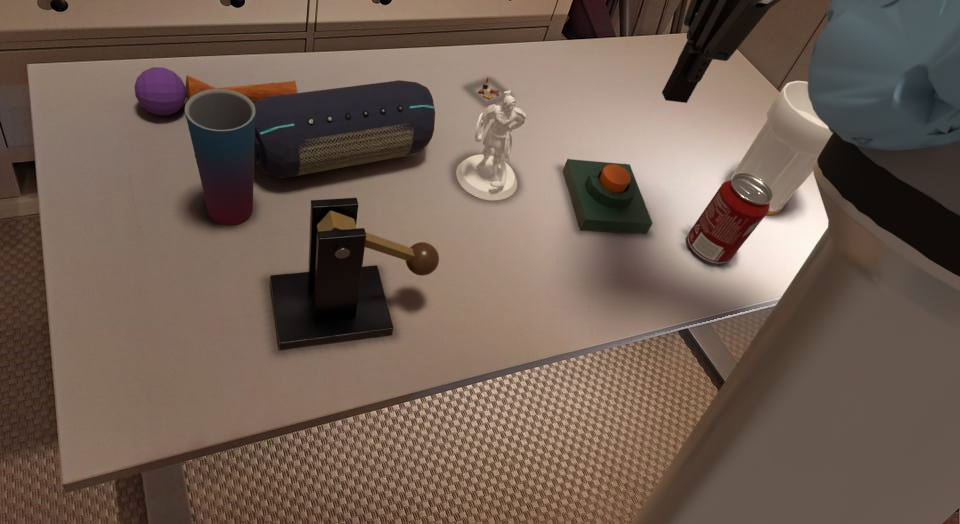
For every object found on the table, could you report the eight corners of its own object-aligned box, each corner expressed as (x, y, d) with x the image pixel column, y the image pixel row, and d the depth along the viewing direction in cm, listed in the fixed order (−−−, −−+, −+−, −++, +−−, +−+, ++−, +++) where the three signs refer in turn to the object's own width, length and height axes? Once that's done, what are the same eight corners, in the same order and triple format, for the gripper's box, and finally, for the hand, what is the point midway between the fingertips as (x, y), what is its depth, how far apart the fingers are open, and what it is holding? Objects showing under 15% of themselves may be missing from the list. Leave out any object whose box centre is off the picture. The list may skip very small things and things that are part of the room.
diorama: (474, 90, 105) (477, 79, 103) (490, 84, 107) (493, 73, 106) (486, 100, 104) (489, 89, 102) (502, 94, 106) (506, 83, 104)
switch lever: (420, 260, 74) (440, 240, 72) (428, 285, 72) (449, 266, 70) (311, 223, 64) (332, 200, 62) (317, 251, 62) (339, 228, 60)
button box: (646, 234, 92) (658, 214, 89) (580, 230, 90) (590, 210, 87) (624, 174, 100) (634, 155, 97) (562, 169, 97) (571, 149, 94)
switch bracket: (376, 271, 78) (390, 180, 66) (392, 334, 72) (410, 248, 61) (270, 281, 73) (266, 187, 62) (279, 349, 68) (277, 260, 57)
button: (629, 194, 91) (634, 185, 90) (602, 192, 90) (607, 183, 89) (622, 174, 94) (626, 165, 92) (596, 172, 93) (600, 163, 91)
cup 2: (797, 226, 101) (872, 139, 88) (729, 212, 99) (795, 121, 86) (778, 177, 108) (845, 89, 95) (715, 163, 107) (774, 73, 94)
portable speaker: (259, 200, 80) (256, 137, 73) (236, 147, 85) (231, 83, 78) (440, 165, 92) (453, 107, 84) (410, 120, 97) (420, 61, 89)
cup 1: (268, 223, 79) (264, 124, 67) (209, 237, 75) (195, 136, 64) (249, 184, 82) (243, 84, 71) (192, 196, 79) (176, 93, 67)
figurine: (445, 182, 90) (468, 92, 79) (470, 148, 96) (494, 59, 84) (504, 209, 89) (535, 122, 78) (525, 173, 95) (557, 87, 84)
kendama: (301, 95, 89) (135, 92, 80) (296, 123, 93) (138, 124, 84) (293, 62, 91) (131, 56, 82) (288, 91, 96) (134, 89, 87)
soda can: (710, 273, 90) (757, 213, 81) (676, 239, 93) (717, 178, 84) (739, 256, 93) (787, 197, 84) (705, 224, 96) (747, 164, 87)
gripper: (862, -83, 55) (723, 137, 72) (795, -142, 63) (684, 68, 80) (785, -99, 53) (661, 131, 70) (727, -158, 61) (629, 61, 79)
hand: (674, 97), depth 75 cm, fingers closed
